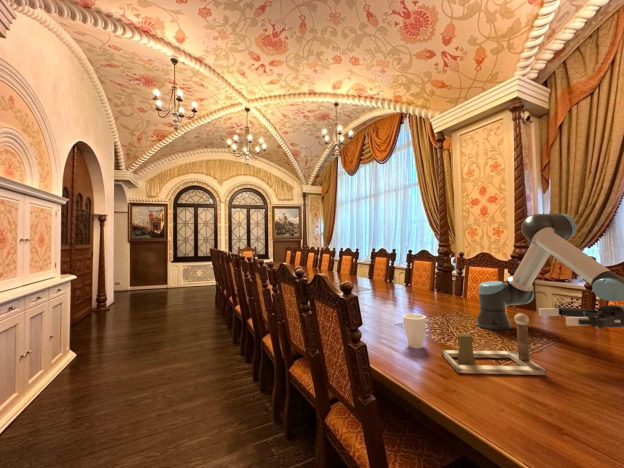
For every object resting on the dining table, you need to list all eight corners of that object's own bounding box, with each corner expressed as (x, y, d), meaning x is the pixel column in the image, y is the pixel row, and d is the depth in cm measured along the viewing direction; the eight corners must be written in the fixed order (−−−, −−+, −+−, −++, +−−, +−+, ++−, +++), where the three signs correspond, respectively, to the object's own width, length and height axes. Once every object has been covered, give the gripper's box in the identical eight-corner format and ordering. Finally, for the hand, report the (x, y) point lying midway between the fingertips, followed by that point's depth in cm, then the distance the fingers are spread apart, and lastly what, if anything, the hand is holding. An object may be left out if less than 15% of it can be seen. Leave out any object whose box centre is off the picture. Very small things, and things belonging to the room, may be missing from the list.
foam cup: (427, 343, 128) (426, 314, 128) (426, 350, 119) (425, 319, 120) (405, 341, 132) (404, 313, 132) (403, 348, 123) (402, 318, 124)
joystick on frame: (517, 355, 111) (514, 308, 112) (547, 375, 94) (543, 319, 95) (441, 353, 115) (439, 308, 115) (457, 372, 98) (455, 319, 98)
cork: (454, 361, 108) (452, 332, 109) (469, 360, 109) (467, 331, 109) (464, 367, 102) (462, 337, 103) (479, 366, 103) (478, 336, 103)
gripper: (658, 338, 86) (581, 337, 89) (589, 318, 111) (530, 318, 114) (655, 313, 87) (579, 314, 89) (587, 299, 111) (529, 299, 114)
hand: (552, 316), depth 102 cm, fingers open, 13 cm apart
